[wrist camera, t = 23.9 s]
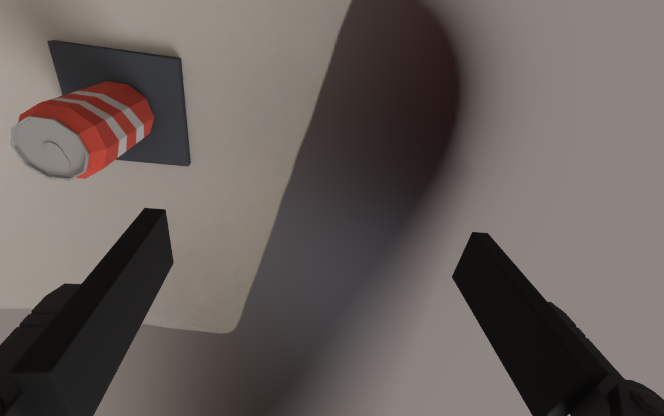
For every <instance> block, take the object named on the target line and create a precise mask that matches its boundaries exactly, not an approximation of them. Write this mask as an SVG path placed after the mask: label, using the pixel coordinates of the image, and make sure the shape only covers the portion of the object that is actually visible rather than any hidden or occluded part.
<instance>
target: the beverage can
mask: <svg viewBox="0 0 664 416" xmlns="http://www.w3.org/2000/svg"><path fill="white" fill-rule="evenodd" d="M153 120H154V115H153V113H152V111H151V108H150V106H149V104H148V101H147V99H146V98H145V97H143V96H142V95H141V94H140V93H138V92H137V91H136V90H135V89H133V88H132V87H131V86H129V85H128V84H122V83H116V82H110V81H106V82H103V83H100V84H97V85H94V86H91V87H88V88H85V89H82V90H78V91H75V92H72V93H69V94H66V95H63V96H60V97H57V98H54V99H51V100H48V101H45V102H41V103H39V104H37V105H36V106H34V107H32V108H31V109H29V110H27V111H26V112H24V113H22V114H21V115H20V117H19V122H18V123H17V124H15V125H13V126H12V133H11V146H12V148H13V149H14V150H15V152H16V153H17V155H18V156H19V158H20V159H21V160H22V162H23V163H24V165H26V166H27V167H29V168H31V169H32V170H34V171H36V172H38V173H39V174H41V175H43V176H44V177H46V178H50V179H59V180H67V181H70V180H72V179H74V178H87V177H89V176H91V175H93V174H94V173H96V172H98V171H100V170H102V169H103V168H105V167H106V166H107V165H109V164H110V163H111V162H113V161H114V160H115V159H117V158H118V157H119V156H121V155H122V154H123V153H125V152H126V151H127V150H128V149H130V148H131V147H132V146H134V145H135V144H136V143H138V142H139V141H140V140H142V139H143V138H144V137H146V136H147V135H148V134H150V132H151V128H152V124H153Z"/></svg>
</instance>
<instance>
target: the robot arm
mask: <svg viewBox="0 0 664 416" xmlns="http://www.w3.org/2000/svg"><path fill="white" fill-rule="evenodd" d="M172 265H173V256H172V249H171V243H170V236H169V229H168V223H167V216H166V210H165V209H151V208H144V209H143V211H142V212H141V213H140V214H139V215H138V217H137V218H136V219H135V220H134V221H133V223H132V224H131V225H130V226H129V227H128V229H127V230H126V231H125V232H124V234H123V235H122V236H121V237H120V238H119V240H118V241H117V242H116V243H115V244H114V246H113V247H112V248H111V249H110V250H109V252H108V253H107V254H106V255H105V256H104V258H103V259H102V260H101V261H100V262H99V264H98V265H97V266H96V267H95V268H94V270H93V271H92V272H91V273H90V274H89V276H88V277H87V278H86V279H85V281H84V282H83V283H82V284H63V285H62V286H60V287H59V288H57V289H56V290H54V291H53V292H51V293H50V294H48V295H46V296H45V297H44V298H43V299H42V300H41V302H40V303H39V304H38V305H37V306H36V307H35V308H34V309H33V310H32V313H31V314H29V315H28V316H27V317H26V318H25V319H24V320H23V321H22V322H21V323H20V326H19V327H17V328H16V329H15V330H14V331H13V332H12V333H11V334H10V335H9V336H8V337H7V338H6V340H5V341H4V342H3V343H2V344H1V345H0V416H93V415H94V413H95V411H96V409H97V408H98V406H99V404H100V402H101V400H102V398H103V396H104V394H105V393H106V391H107V389H108V387H109V385H110V383H111V381H112V379H113V377H114V375H115V373H116V372H117V369H118V367H119V366H120V364H121V362H122V360H123V358H124V356H125V354H126V353H127V351H128V349H129V347H130V345H131V343H132V341H133V339H134V337H135V335H136V333H137V331H138V330H139V328H140V326H141V324H142V322H143V320H144V318H145V316H146V314H147V313H148V311H149V309H150V307H151V305H152V303H153V301H154V299H155V297H156V295H157V293H158V292H159V290H160V288H161V286H162V284H163V282H164V280H165V278H166V276H167V274H168V273H169V271H170V269H171V267H172ZM452 278H453V280H454V281H455V283H456V285H457V287H458V288H459V290H460V291H461V293H462V295H463V297H464V298H465V300H466V302H467V304H468V305H469V307H470V309H471V310H472V312H473V314H474V316H475V317H476V319H477V321H478V323H479V324H480V326H481V328H482V329H483V331H484V333H485V335H486V336H487V338H488V340H489V341H490V343H491V345H492V347H493V348H494V350H495V352H496V354H497V355H498V357H499V359H500V360H501V362H502V364H503V366H504V367H505V369H506V371H507V372H508V374H509V376H510V377H511V379H512V381H513V383H514V384H515V386H516V388H517V390H518V391H519V393H520V395H521V396H522V398H523V400H524V402H525V403H526V405H527V407H528V408H529V410H530V412H531V414H532V415H533V416H567V415H568V414H570V415H571V416H664V400H663V399H662V398H661V397H660V396H659V395H657V394H656V393H655V392H654V391H652V390H651V389H649V388H647V387H646V386H644V385H642V384H640V383H637V382H635V381H632V380H625V379H624V378H623V377H622V376H621V375H620V374H619V372H618V371H617V370H616V369H615V368H614V367H613V366H612V365H611V364H610V362H608V360H607V359H606V358H605V357H604V356H603V355H602V354H601V352H600V351H599V350H598V349H597V348H596V347H595V346H594V345H593V343H592V342H591V341H590V340H589V339H588V338H586V337H585V335H584V333H582V331H581V330H580V329H579V328H577V327H576V325H575V324H574V322H573V321H572V320H571V319H570V318H569V317H568V316H567V314H566V313H564V312H563V311H562V310H561V309H559V308H558V307H556V306H555V305H554V304H553V303H551V302H547V301H546V300H545V299H544V298H543V297H542V295H541V294H540V293H539V292H538V291H537V290H536V288H535V287H534V286H533V285H532V284H531V283H530V281H529V280H528V279H527V278H526V277H525V276H524V275H523V273H522V272H521V271H520V270H519V269H518V268H517V266H516V265H515V264H514V263H513V262H512V261H511V260H510V258H509V257H508V256H507V255H506V254H505V253H504V252H503V250H502V249H501V248H500V247H499V246H498V245H497V243H495V241H494V240H493V239H492V238H491V236H490V235H489V234H488V233H478V232H472V234H471V236H470V238H469V241H468V243H467V245H466V247H465V249H464V251H463V254H462V256H461V258H460V260H459V263H458V265H457V267H456V269H455V271H454V274H453V276H452Z"/></svg>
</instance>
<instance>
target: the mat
mask: <svg viewBox="0 0 664 416" xmlns="http://www.w3.org/2000/svg"><path fill="white" fill-rule="evenodd" d="M48 45H49V48H50V52H51V55H52V59H53V63H54V66H55V70H56V73H57V77H58V80H59V84H60V87H61V91H62V94H63V95H66V94H69V93H72V92H75V91H78V90H82V89H85V88H88V87H91V86H94V85H97V84H100V83H103V82H106V81H110V82H116V83H122V84H128V85H129V86H131V87H132V88H133V89H135V90H136V91H137V92H138V93H140V94H141V95H142V96H143V97H145V98H146V99H147V101H148V104H149V106H150V108H151V111H152V113H153V115H154V120H153V124H152V128H151V132H150V134H148V135H147V136H146V137H144V138H143V139H142V140H140V141H139V142H138V143H136V144H135V145H134V146H132V147H131V148H130V149H128V150H127V151H126V152H125V153H123V154H122V155H121V156H119V157H118V158H117V159H115V160H126V161H136V162H147V163H158V164H168V165H179V166H189V165H190V163H191V162H190V151H189V141H188V130H187V119H186V109H185V98H184V87H183V76H182V66H181V58H176V57H169V56H162V55H155V54H148V53H141V52H134V51H127V50H119V49H112V48H105V47H98V46H91V45H84V44H77V43H70V42H63V41H56V40H52V41H48Z"/></svg>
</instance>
